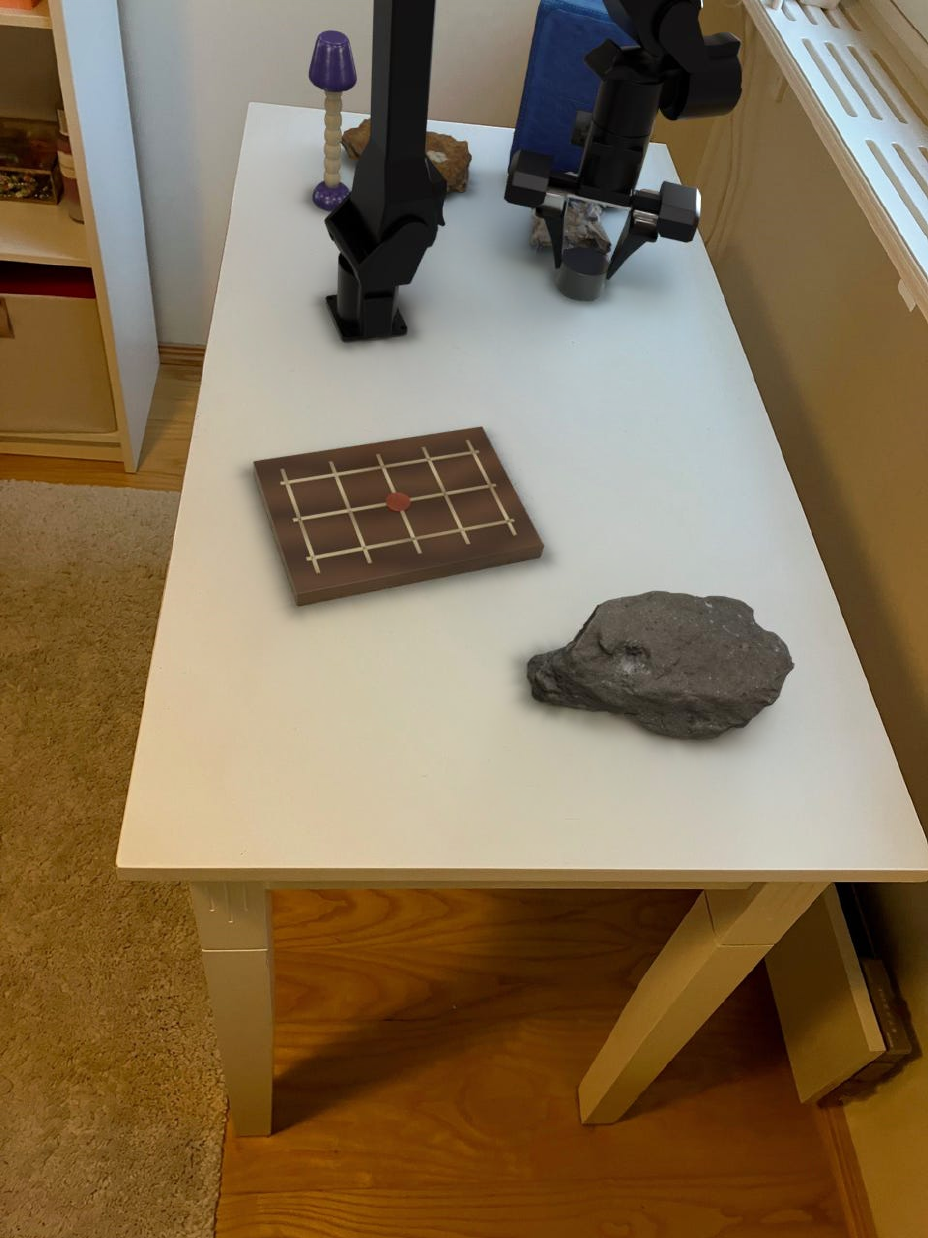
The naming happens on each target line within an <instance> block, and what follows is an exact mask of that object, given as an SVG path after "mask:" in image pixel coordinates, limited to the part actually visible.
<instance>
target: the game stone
mask: <svg viewBox="0 0 928 1238" xmlns="http://www.w3.org/2000/svg"><path fill="white" fill-rule="evenodd" d="M608 270H609V262H608V260H607V259H606V257H605V256H603V255H602V254H601V253H599V252H597V251H595V250H592V249H589V248H584V247H575V248H570V249H568V248H567V249H565V250H564V251H563V254H562V259H561V262H560V266H559V269H557V274H556V277H555V278H556V279H555V286H556V289H557V290H558V291H559V292H560V293H561V294H562V295H564V296H565V297H567V298H570V299H572V300H576V301H581V302H589V301H594V300H597V299H598V298H600V297H601V296H602V294H603V291H604V287H605V285H606V282H607V280H606V277H607V274H608Z"/></svg>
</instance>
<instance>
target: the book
mask: <svg viewBox="0 0 928 1238" xmlns="http://www.w3.org/2000/svg"><path fill="white" fill-rule="evenodd" d="M607 38H611V39H612V40H613V41H614V42H615V43H616V44H617V45H618V46H619V47H626V46H639V45H638V44H637V43H636V42H635V41H634V40H633V39H632V38H631V37H630V36H629V35H628V34H626V33H625V32H624V31H623V30H622V29H621V28H620V27H619V26H618V25H617V24H616V23H615V22H613V21H612V19H611V18H610V16H609V14H608V12H607V10H606V8H605V6H604V4H603V2H602V0H540V1H539V4H538V6H537V9H536V17H535V22H534V30H533V34H532V37H531V44H530V49H529V54H528V59H527V66H526V71H525V76H524V79H523V80H524V81H523V87H522V91H521V97H520V103H519V107H518V114H517V117H516V122H515V126H514V131H513V137H512V142H511V146H510V151H509V159H508V165H507V171H506V172H507V175H508V174H509V170H510V166H511V163H512V159H513V156H514V154H515V153H516V152H517V151H519V150H520V149H524V150H528V151H533V152H537V153H542V154H546V155H551V156H554V160H553V165H552V169H551V171H555V172H560V173H569V172H572V173H574V174H578V172H579V163H580V159H581V154H582V150H583V148H582V147H577V146H573V145H570V139H571V134H572V130H573V125H574V121H575V117H576V112H577V109H582V110H586V111H591V112H593V110H594V106H595V102H596V97H597V93H598V89H599V85H600V81H601V79H600V78H599V77H598V76H597V75H596V74H595V73H594V72H593V71H592V70H591V69H590V68H589V67H588V66H587V65H586V64H585V63H584V61H583V59H584V56H585V55H586V54H588V53H589V52H590V51H591V50H592V49H594V48H597V47H598V46H600V45H601V44H602V43H603V42H604V41H605V40H606V39H607Z"/></svg>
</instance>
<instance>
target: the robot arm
mask: <svg viewBox="0 0 928 1238" xmlns="http://www.w3.org/2000/svg"><path fill="white" fill-rule="evenodd" d="M602 2H603V4H604V6H605V8H606V10H607V12H608V14H609V16H610V18H611V19H612V21H613V22H615V23H616V24H617V25H618V26H619V27H620V28H621V29H622V30H623V31H624V32H625V33H626V34H628V35H629V36H630V37H631V38H632V39H633V40H634V41H635V42H636V43H637V44H638V45H639V46H626V47H619V46H618V45H617V44H616V43H615V42H614V41H613V40H612V39H611V38H607V39H606V40H605V41H604V42H603V43H602V44H601V45H600V46H598V47H597V48H594V49H592V50H591V51H590V52H589V53H588V54H586V55H585V56H584V59H583V61H584V63H585V64H586V65H587V66H588V67H589V68H590V69H591V70H592V71H593V72H594V73H595V74H596V75H597V76H598V77H599V78H600V79H601V81H600V85H599V89H598V93H597V97H596V102H595V106H594V110H593V112H591V111H586V110H582V109H577V112H576V117H575V121H574V125H573V130H572V134H571V139H570V145H573V146H577V147H582V148H583V150H582V154H581V159H580V163H579V172H578V176H573V175H569V174H564V173H560V172H555V171H551V169H552V165H553V160H554V156H551V155H546V154H542V153H537V152H533V151H528V150H524V149H520V150H519V151H517V152H516V153H515V154H514V156H513V159H512V163H511V166H510V170H509V174H508V173H507V178H506V182H505V183H506V184H505V188H504V194H503V200H504V201H506V203H508V204H511V205H515V206H520V207H525V208H530V209H532V208H533V209H535V208H536V210H535V215H536V216H537V217H539V218H543V219H544V221H545V224H546V227H547V230H548V233H549V236H550V239H551V244H552V246H551V250H552V255H553V261H554V262H553V263H554V267H555V269H556V270H559V266H560V262H561V259H562V254H563V253H564V250H565V249H564V239H565V229H566V219H567V210H568V202H569V197H570V198H574V199H579V200H583V201H588V202H592V203H597V204H601V205H605V206H606V207H611V208H615V209H619V210H624V211H628V214H627V217H626V220H625V223H624V225H623V227H622V229H621V232H620V236H619V237H618V239H617V243H616V244H615V247H614V248H613V252H612V254H611V256H610V258H609V270H608V274H607V277H606V281H610V280H611V279H612V277H613V276H614V275H615V274H616V272H618V271H619V270H620V268H621V267H622V266H623V264H625V262H626V261H627V260H628V259H629V258H630V257H631V256H632V255H633V254H634V253H635V252H637V251H638V250H639V249H640V248H641V247H642V246H643V245H645V244H646V243H652V244H653V243H656V242H657V241H658V239H659V237H660V238H663V239H667V240H668V239H669V240H672V241H677V242H680V243H685V244H687V243H690V242H691V243H692V242H693V241H694V238H695V235H696V233H697V230H698V227H699V223H700V218H701V204H702V203H701V201H702V200H701V198H702V195H701V193H700V191H699V189H698V188H697V187H693V186H689V185H684V184H681V183H676V182H672V181H666V180H663V181H662V182H661V185H660V188H659V191H658V190H653V189H648V188H641V189H637V186H638V182H639V179H640V175H641V172H642V169H643V166H644V162H645V159H646V155H647V152H648V149H649V145H650V141H651V138H652V135H653V131H654V128H655V124H656V121H657V118H658V113H659V111H660V113H661V114H662V116H663V117H664V118H665V119H666V120H669V121H671V122H674V121H675V122H676V121H685V120H696V119H697V120H698V119H705V118H714V117H723V116H727V115H729V114H730V113H731V112H732V111H733V110H734V109H735V108H736V106H737V105H738V103H739V101H740V99H741V97H742V93H743V87H742V84H743V69H742V64H741V60H740V57H739V52H740V50H741V46H742V41H741V39H739V38H738V37H737V36H736V35H734V34H733V33H731V32H730V31H721V32H716V33H713V34H709V35H704V34H703V32H702V28H701V24H700V20H699V17H700V16H699V15H700V12H701V10H702V9H703V6H704V5H703V0H602ZM372 8H373V10H372V44H371V47H372V48H371V77H370V78H371V79H370V80H371V81H370V82H371V83H370V115H369V118H370V136H369V141H368V143H367V145H366V147H365V148H364V150H363V152H362V154H361V155H360V157H359V159H358V161H356V163H355V168H354V173H353V179H352V183H351V190H350V193H349V194H348V195H347V196H346V197H345V198H344V199H343V200H342V201H341V202H340V203H339V204H338V205H337V207H336V208H335V209H334V210H333V211H330V213H329V214H328V215H327V216H326V217H325V218H324V220H323V221H324V225H325V228H326V231H327V235H328V236H329V238H330V239H331V241H332V242H333V244H334V245H335V246H336V248H337V249H338V251H339V254H338V257H337V281H336V283H337V285H336V294H329V295H326V296H325V298H324V299H325V301H324V302H325V305H326V307H327V309H328V311H329V314H330V316H331V318H332V320H333V323H334V325H335V328H336V330H337V332H338V334H339V336H340V338H341V340H342V341H344V342H352V341H360V340H369V339H378V338H387V337H394V336H403V335H404V336H405V335H407V333H408V331H409V330H408V329H409V328H408V326H407V323H406V321H405V320H404V317H403V316H402V312H400V309H399V308H398V302H399V301H398V300H399V290H400V289H399V288H400V287H401V286H408V285H410V284H411V283H412V282H413V279H414V277H415V275H416V273H417V271H418V270H419V267H420V265H421V262H422V260H423V259H424V256H425V254H426V252H427V251H428V250H427V249H428V248H432V247H433V245H434V243H435V242H436V239H437V236H438V232H439V226H441V227H445V226H446V221H445V218H444V206H445V205H444V204H445V200H446V197H447V180H446V179H445V177H444V176H443V175H442V174H441V172H440V171H439V170H438V168H437V167H436V166H435V164H434V163H433V162H432V161H431V159H430V158H429V157H428V155H427V154H426V153H425V145H426V132H427V131H428V130H427V129H428V117H429V104H430V90H431V78H432V64H433V51H434V40H435V39H434V38H435V27H436V26H435V25H436V24H435V23H436V13H437V12H436V11H437V0H373V6H372Z"/></svg>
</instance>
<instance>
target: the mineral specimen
mask: <svg viewBox="0 0 928 1238" xmlns="http://www.w3.org/2000/svg"><path fill="white" fill-rule="evenodd" d="M564 174H569V175H573V176H578V174H574V173H572V172H569V173H564ZM606 209H607V206H606V205H601V204H597V203H592V202H588V201H583V200H579V199H574V198H570V197H569V202H568V210H567V219H566V229H565V239H564V249H563V250H568V249H570V248H575V247H584V248H589V249H592V250H595V251H597V252H599V253H601V254H602V255H603V256H605V257H606V259H607V260H608V262H609V261H610V258H608V253H610V252H611V251H612V249H611V247H612V246H613V244H612V242H611V240H610V238H609V237H608V235H607V233H606V231H605V228H604V227H603V225H602V223H601V221H600V220H601V218H600V216H602V215H603V211H602V210H604V211H605V210H606ZM531 210H532V212H531V218H532V222H531V226H530V232H531V233H530V243H531V245H532V246H534V245H536V247H535V253H536V254H539V253H540V252H541V250H542V248H544V246H548V247H552V244H551V239H550V236H549V233H548V230H547V227H546V224H545V221H544V219H543V218H539V217H537V216H536V215H535V210H536V208H535V209H533V208H531Z"/></svg>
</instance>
